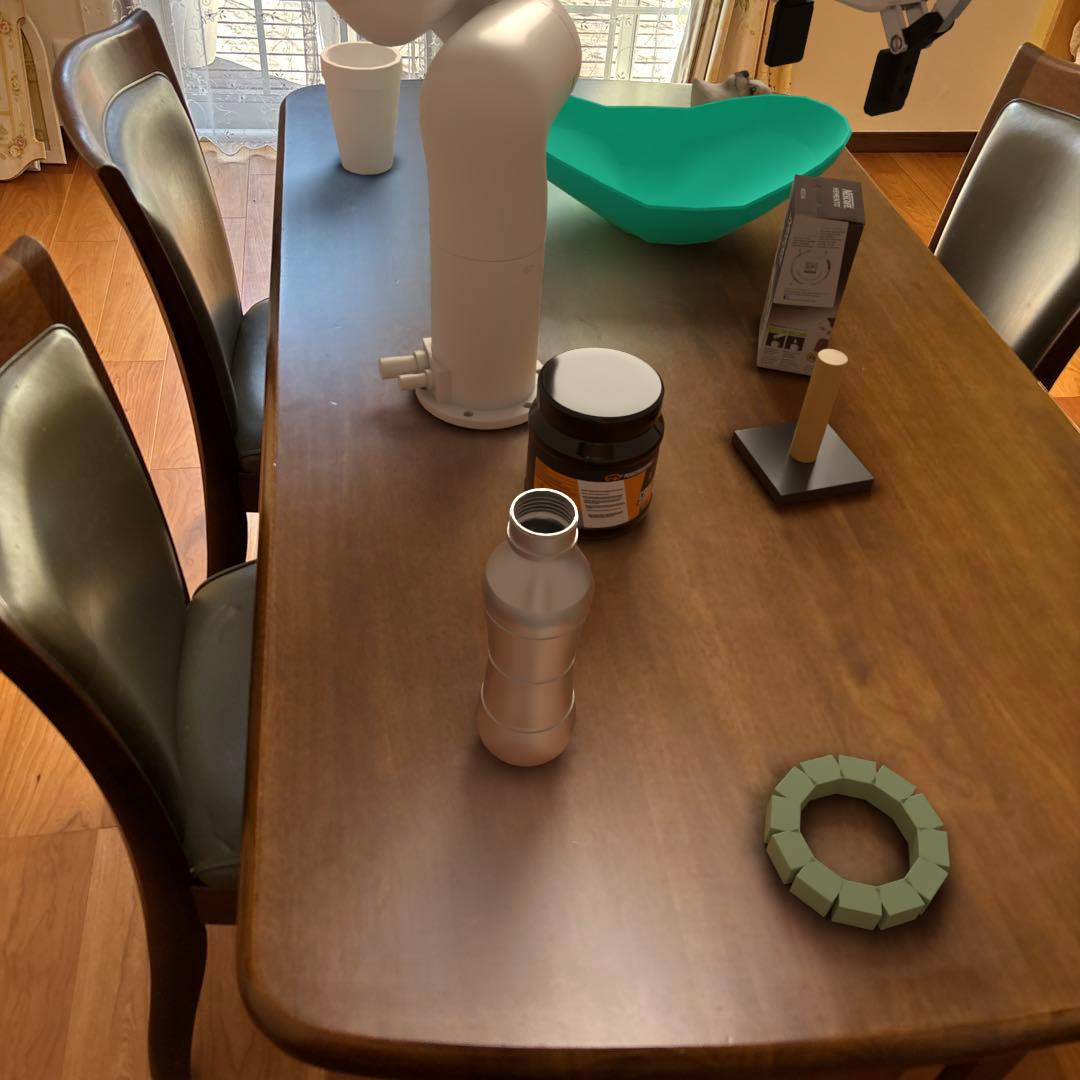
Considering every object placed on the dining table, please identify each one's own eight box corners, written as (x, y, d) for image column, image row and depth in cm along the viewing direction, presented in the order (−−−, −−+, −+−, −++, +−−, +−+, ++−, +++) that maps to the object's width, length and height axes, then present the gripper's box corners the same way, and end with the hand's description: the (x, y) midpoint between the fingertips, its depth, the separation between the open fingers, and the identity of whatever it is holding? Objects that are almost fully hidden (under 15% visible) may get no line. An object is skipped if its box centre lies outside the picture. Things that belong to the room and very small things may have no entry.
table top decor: (785, 178, 133) (810, 72, 124) (857, 286, 113) (893, 170, 104) (481, 174, 128) (484, 64, 119) (500, 288, 108) (505, 165, 99)
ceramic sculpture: (688, 51, 139) (792, 61, 142) (674, 115, 145) (774, 124, 148) (704, 81, 132) (814, 91, 134) (689, 147, 138) (794, 155, 140)
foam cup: (321, 152, 130) (312, 44, 121) (391, 144, 133) (387, 38, 124) (340, 184, 124) (332, 72, 115) (414, 175, 127) (411, 66, 118)
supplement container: (606, 565, 79) (624, 442, 71) (496, 507, 83) (502, 385, 75) (672, 495, 86) (697, 375, 77) (568, 445, 90) (581, 326, 81)
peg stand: (778, 506, 85) (811, 396, 78) (731, 441, 91) (757, 333, 84) (871, 489, 88) (911, 381, 80) (819, 427, 94) (852, 321, 86)
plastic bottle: (569, 696, 70) (600, 471, 56) (575, 782, 65) (611, 558, 51) (475, 695, 69) (482, 467, 55) (473, 781, 64) (481, 555, 51)
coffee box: (820, 378, 100) (867, 223, 89) (754, 367, 100) (792, 212, 89) (820, 330, 106) (864, 180, 95) (758, 320, 107) (794, 170, 96)
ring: (817, 950, 58) (826, 936, 56) (735, 793, 65) (741, 777, 64) (974, 900, 61) (985, 886, 59) (879, 755, 68) (887, 739, 66)
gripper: (754, -245, 62) (708, 54, 73) (980, -195, 51) (884, 143, 63) (844, -246, 65) (786, 40, 77) (1074, -200, 54) (966, 123, 66)
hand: (830, 86), depth 70 cm, fingers open, 9 cm apart
